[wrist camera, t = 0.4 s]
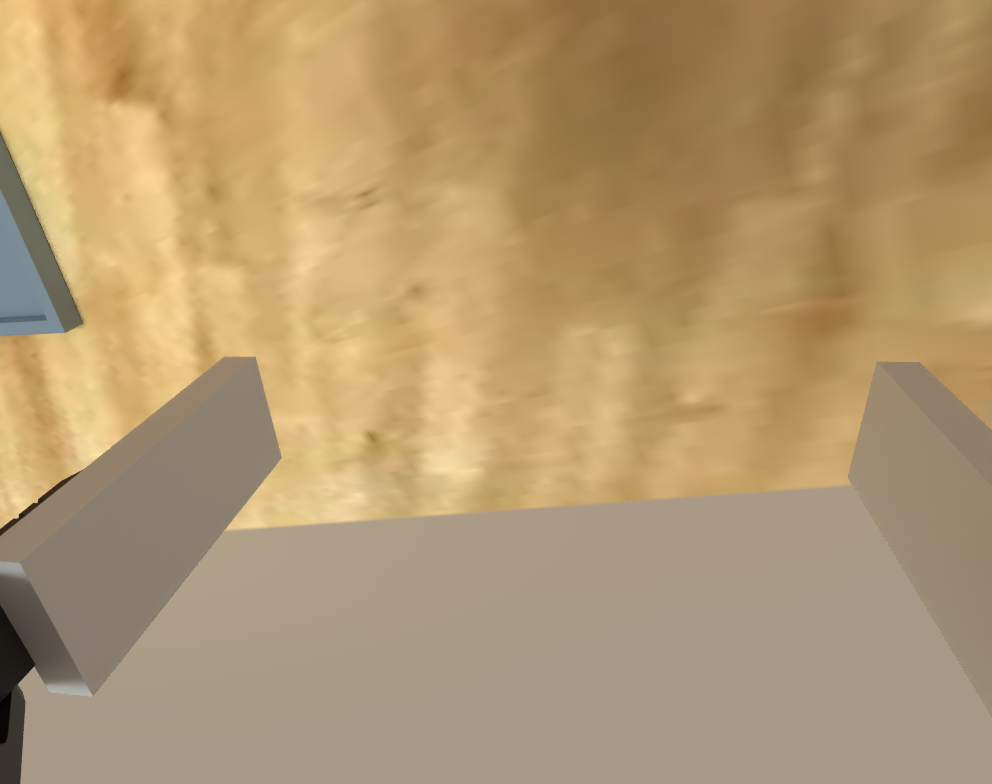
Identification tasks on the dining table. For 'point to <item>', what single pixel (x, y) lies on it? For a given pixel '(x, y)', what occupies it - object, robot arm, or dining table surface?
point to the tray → (28, 266)
